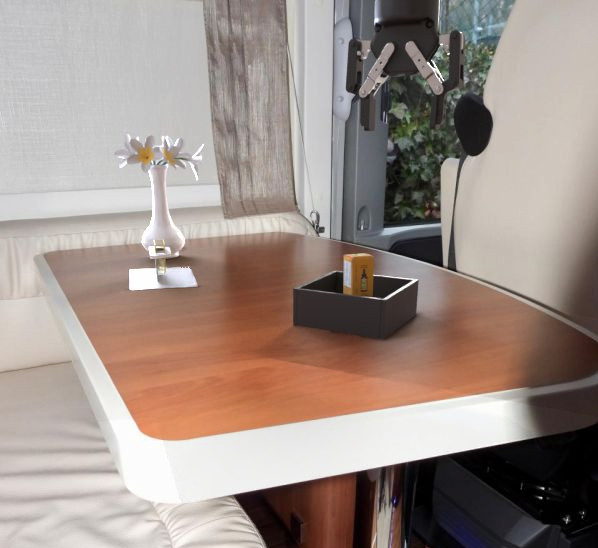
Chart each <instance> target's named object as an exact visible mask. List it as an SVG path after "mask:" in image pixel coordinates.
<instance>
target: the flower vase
mask: <svg viewBox="0 0 598 548" xmlns="http://www.w3.org/2000/svg"><path fill="white" fill-rule="evenodd" d="M123 144H124V147H125V148H119V149H117V150H115V152H114V154H113V156H114V157H115V158H118V159H121V160H120V162H119V164H118V168H119V169H122V168H123V167H125V165H126V164H128V165H137V164H140V168H141V171H142V172H143V173H145V174H147V173H149V177H150V181H151V190H152V217H151V220H150V224H149V225H148V226H147V228H146V229H145V230H144V232H143V234H142V236H141V245H142V246H143V248H144V249H145V250H146V251H147V252H149V247H153V246H154V240H163V241H164V244H165V247H169V248H170V251H171V256H170V257H165V259H167V260H168V259H174V258H178V257H179V255H180V251H181V250H182V249H183V248H184V246H185V244H186V239H185V236H184V234H183V232H182V231H181V230H180V229H179V228H178V227H177V226H176V225H175V223H174V221H173V219H172V217H171V213H170V209H169V202H168V193H167V192H168V191H167V176H168V175H167V173H168V169H169V167H171V169H173V170H174V171H176V170H177V167H178V168H181V169H183V170H186V169H187V164H186V162H188V163H189V164H190V167H191V169H192V171H193V173H194V175H195V176H194V177H195V178H196V181H198V180H199V166H200V165H201V164H202V161H203V155H202V152H203V150H204V149H203V148H204V145H205V143H203V144H202V145H201V146H200V148H199V149H198V150H197V152H196V153H194V155H192V154H191V153H189V152H188V151H187V152H186V151H183V150H184V149H185V139H184V138H182V137H178V138H177V139H176V141H175V143H174V141H173V140H172V138H171V137H170V136H169V135H166V136H164V135H162V136H161V144H160V145H156V137H155V136H154V135H153V134H151V135H149V136H146V137H145V140H144V144H142V143H141V141H140V137H139V136H136V137H135V138H132V137H131V136H130V134H129V133H126V134H125V135H124V139H123ZM155 245H156V246H159V247H163V243H162V242H155ZM157 253H164V251H157ZM160 259H164V258H160Z"/></svg>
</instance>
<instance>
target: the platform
mask: <svg viewBox="0 0 598 548" xmlns="http://www.w3.org/2000/svg"><path fill="white" fill-rule="evenodd" d="M155 242H162V243H163V247H159V246H156V245H155ZM157 251H164V253H157ZM148 254H149V259H150V260H154V263H155V264H154V265H155V268H134V269H133V268H132V269H131V268H130V269H129V290H130V291H138V290H140V291H141V290H154V289H155V290H158V289H159V290H160V289H175V288H176V289H177V288H193V287H195V288H196V287H199V286H198V283H197V280H196V278H195V276H194V273H193V271H192V269H190V268H191V267H190V266H176V267H175V266H174V267H173V266H172V267H167V262H166V259H165V257H170V256H171V251H170V248H169V247H165V244H164V241H163V240H154V246H153V247H149V251H148ZM160 258H164V259H160ZM181 267H182V268H181ZM183 267H185V268H183ZM186 267H188V268H186ZM189 267H190V268H189Z"/></svg>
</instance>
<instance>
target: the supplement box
mask: <svg viewBox="0 0 598 548" xmlns="http://www.w3.org/2000/svg"><path fill="white" fill-rule="evenodd" d="M374 263H375V256H374V255H372V254H368V253H365V252H361V253H349V254H343V272H344V283H343V286H344V289H343V294H349V295H357V296H365V297H373V275H374V266H375V265H374Z"/></svg>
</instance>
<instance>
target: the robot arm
mask: <svg viewBox="0 0 598 548" xmlns="http://www.w3.org/2000/svg"><path fill="white" fill-rule="evenodd" d="M440 3H441V0H374V21H373V23H374V31H373V36H372V37H371V39H370V40H368V39H363V40H362V39H358V38H350V40H349V41H348V47H347V59H346V60H347V62H346V77H345V91H346V92H347V93H349V94H353V95H355V96H357V97H358V98H359V100H360V101H359V102H360V104H359V106H360V107H359V108H360V109H359V123H360V126H361V127H363V130H364V132H374V131H375V129H376V111H377V109H376V108H377V107H376V106H377V99H375V98H374V97H375V95H376V94H377V92H378V91H379V89H380V88H381V86H382V85H383V84H384V83H386V81H387V80H388V78H389V77H391V78H401V77H403V76H410V77H419V76H420V75H421V77H422V78H423V79H424V80H425V81H426V82H427V84H428V86H429V87H430V89H431V90H432V92H433V95H431V101H430V116H429V130H430V131H439V130H440V129H441V126H442V125H444V124H445V122H446V118H447V117H446V116H447V102H448V96H449V95H450V94H451V93H452V92H455V91H457V90H461V89H462V88H463V87H464V85H465V59H466V58H465V57H466V56H465V55H466V52H465V51H466V35H465V34H464V33H463V32H461V31H459V30H457V29H454V30H452V31H451V32H450V33H444V34H443V33H442V34H440V31H439V21H440ZM441 46H443V51H444V53H446V54H447V55H448V79H447V80H444V79H443V77H442V74H441V73H440V70H439V69H438V67H437V66H436V64H435V62H434V61H433V58H434V57H435V55H437V53H438V51H439V50H440V48H441ZM370 51H371V53H372V55H373V57H374V58H375V59H376V61H375V62H374V64H373V66H372V67H371V68H370V70H369V72H368V74H367V78H366V79H365V80H364V82H363V75H364V63H365V60H366V59H367V58H368V57H369V53H370Z"/></svg>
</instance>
